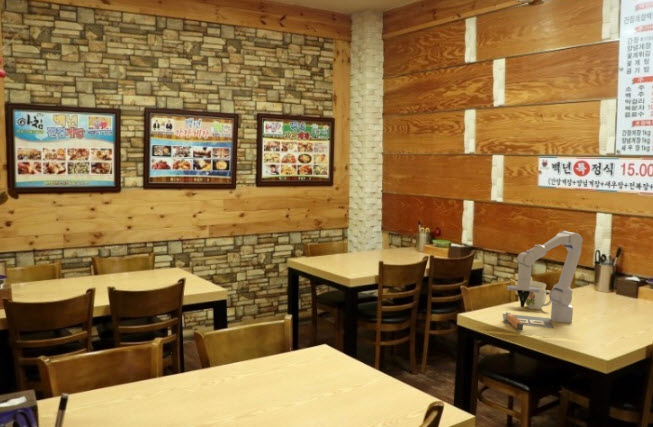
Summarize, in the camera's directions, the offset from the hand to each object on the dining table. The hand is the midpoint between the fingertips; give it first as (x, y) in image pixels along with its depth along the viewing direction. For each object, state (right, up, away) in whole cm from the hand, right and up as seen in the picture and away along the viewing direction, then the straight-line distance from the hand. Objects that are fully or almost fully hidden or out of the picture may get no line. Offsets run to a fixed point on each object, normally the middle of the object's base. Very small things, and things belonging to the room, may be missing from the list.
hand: (522, 306), depth 269 cm
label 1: (0, -7, +1) cm, 7 cm away
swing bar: (-6, -7, -8) cm, 13 cm away
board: (+3, -8, +3) cm, 9 cm away
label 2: (+6, -8, -1) cm, 10 cm away
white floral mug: (+18, -6, +31) cm, 36 cm away
